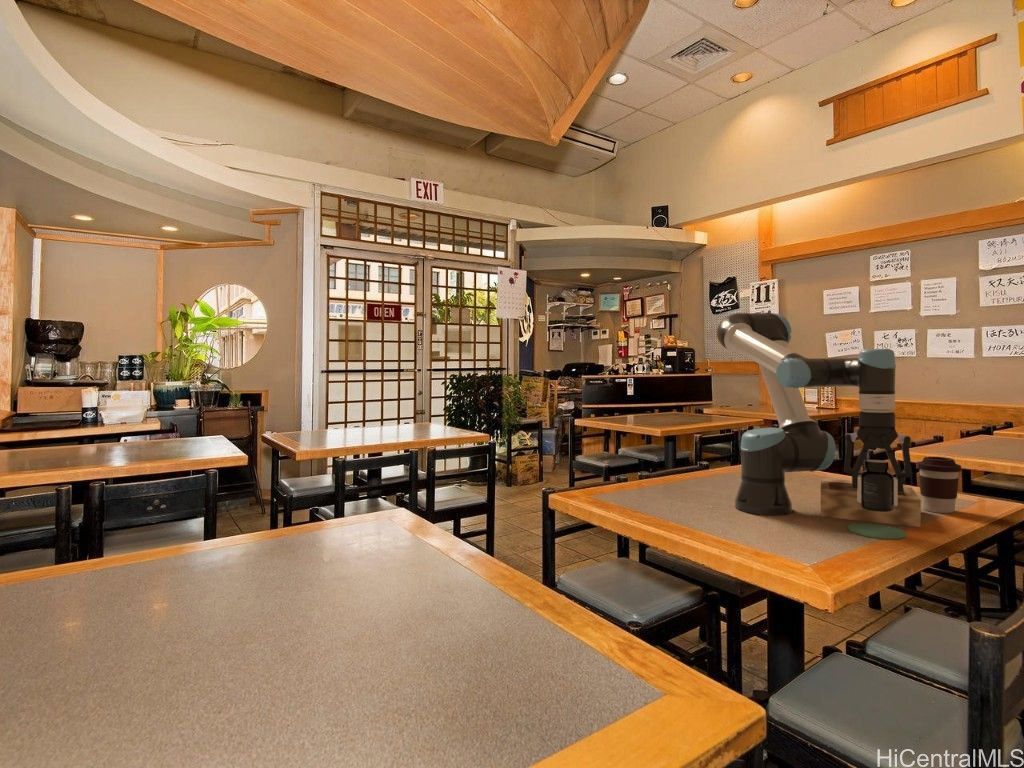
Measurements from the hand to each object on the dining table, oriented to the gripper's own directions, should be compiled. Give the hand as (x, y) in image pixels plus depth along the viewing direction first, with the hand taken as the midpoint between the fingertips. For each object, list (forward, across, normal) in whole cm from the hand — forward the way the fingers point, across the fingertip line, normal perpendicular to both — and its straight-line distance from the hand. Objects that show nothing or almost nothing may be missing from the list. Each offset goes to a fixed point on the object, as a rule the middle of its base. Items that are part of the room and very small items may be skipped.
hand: (876, 502), depth 136 cm
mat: (+7, 0, 0) cm, 7 cm away
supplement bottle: (+2, 0, 0) cm, 2 cm away
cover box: (+7, -1, +20) cm, 22 cm away
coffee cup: (+8, +17, +32) cm, 37 cm away
